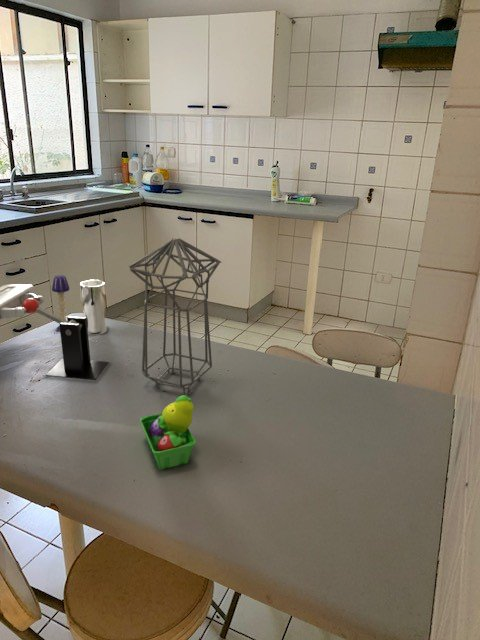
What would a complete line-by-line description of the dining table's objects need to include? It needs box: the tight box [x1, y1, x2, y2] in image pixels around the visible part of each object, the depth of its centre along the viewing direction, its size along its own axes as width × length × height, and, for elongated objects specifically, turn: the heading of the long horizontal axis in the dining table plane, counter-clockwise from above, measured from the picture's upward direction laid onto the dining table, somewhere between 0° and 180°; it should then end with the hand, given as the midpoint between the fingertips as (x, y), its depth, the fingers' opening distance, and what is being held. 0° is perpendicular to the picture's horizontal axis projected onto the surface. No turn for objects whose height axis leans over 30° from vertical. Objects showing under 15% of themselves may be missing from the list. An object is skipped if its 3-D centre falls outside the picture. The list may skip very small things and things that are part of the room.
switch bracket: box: [44, 315, 110, 381], centre depth 110 cm, size 12×9×14 cm
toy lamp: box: [51, 274, 70, 333], centre depth 132 cm, size 5×5×17 cm
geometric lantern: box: [127, 238, 222, 396], centre depth 102 cm, size 16×16×35 cm
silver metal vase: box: [79, 279, 108, 336], centre depth 132 cm, size 7×7×15 cm
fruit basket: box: [139, 394, 196, 470], centre depth 84 cm, size 11×9×11 cm
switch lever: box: [22, 298, 83, 331], centre depth 108 cm, size 14×4×4 cm, turn 85°
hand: (34, 306), depth 107 cm, fingers open, 7 cm apart
